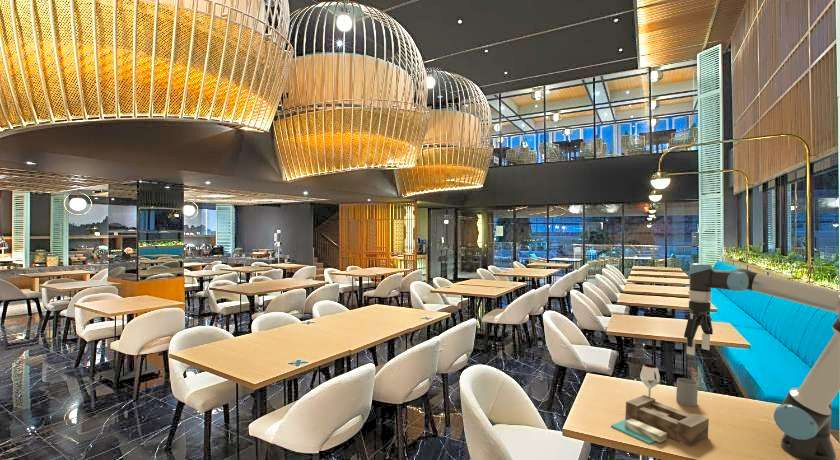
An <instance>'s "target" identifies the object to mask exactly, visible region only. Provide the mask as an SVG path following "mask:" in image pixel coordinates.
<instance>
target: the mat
mask: <svg viewBox="0 0 840 460" xmlns="http://www.w3.org/2000/svg"><path fill="white" fill-rule="evenodd" d="M627 420H629V419H623V420H620V421H618V422H616V423H613V424H611V425H610V427H611V428H612V429H615V430H618V431H619V432H621V433H624V434H626V435H628V436H630V437H632V436H633V438H634V439H637V440H639V441H641V442H643V441H644V442H643V443H645V442H646V443H645V444H648V445H651V444H654V443H656V442H655V440H653V439H650V438H648V437H646V436H644V435H641V434H639V433H637V432H635V431H632V430H630V429H628V428H625V421H627ZM653 442H654V443H653Z"/></svg>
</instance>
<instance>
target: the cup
mask: <svg viewBox="0 0 840 460" xmlns="http://www.w3.org/2000/svg"><path fill="white" fill-rule="evenodd" d="M698 390H699V383H698V382H697V381H695V380H693V379H689V378H683V377H682V378H681V377H679V378H677V379H676V397H675V400H676V402H677V403H678V404H680V405H683V406H687V407H697V405H698V394H699V393H698V392H699V391H698Z"/></svg>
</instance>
